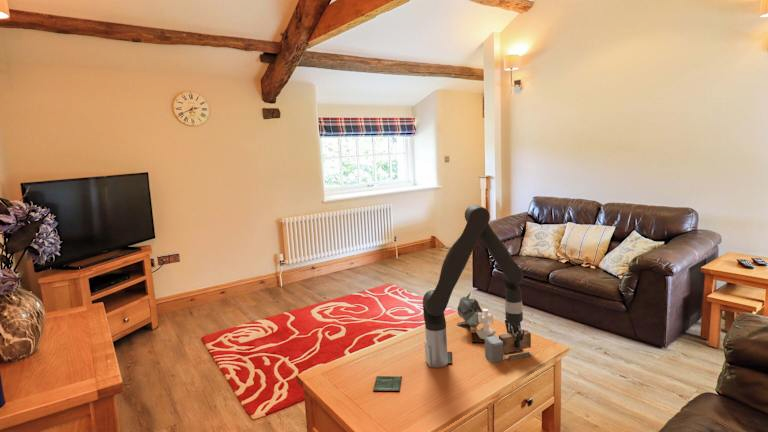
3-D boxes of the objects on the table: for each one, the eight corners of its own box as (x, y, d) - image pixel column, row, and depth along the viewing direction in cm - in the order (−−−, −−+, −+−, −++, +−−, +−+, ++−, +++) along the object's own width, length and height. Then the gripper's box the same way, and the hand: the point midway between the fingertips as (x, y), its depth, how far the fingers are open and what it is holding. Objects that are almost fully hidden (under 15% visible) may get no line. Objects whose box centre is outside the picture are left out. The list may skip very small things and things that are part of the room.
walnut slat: (502, 352, 191) (502, 338, 190) (499, 349, 195) (498, 335, 194) (530, 347, 194) (530, 333, 193) (526, 344, 197) (526, 330, 196)
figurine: (498, 337, 213) (497, 308, 211) (485, 343, 208) (484, 314, 205) (486, 332, 219) (485, 304, 216) (474, 338, 213) (473, 310, 211)
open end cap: (509, 359, 191) (509, 356, 190) (502, 352, 197) (502, 349, 197) (529, 355, 193) (529, 352, 192) (521, 349, 199) (521, 346, 199)
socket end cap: (492, 363, 189) (491, 344, 187) (485, 356, 195) (484, 337, 194) (503, 360, 190) (503, 342, 189) (496, 353, 197) (495, 335, 195)
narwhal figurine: (456, 335, 218) (455, 302, 215) (457, 323, 233) (455, 291, 230) (485, 335, 216) (484, 301, 213) (483, 323, 230) (482, 291, 227)
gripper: (498, 305, 197) (499, 340, 200) (514, 316, 184) (515, 354, 187) (513, 303, 199) (514, 337, 202) (530, 314, 185) (530, 351, 188)
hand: (514, 345), depth 194 cm, fingers closed on walnut slat, 3 cm apart
